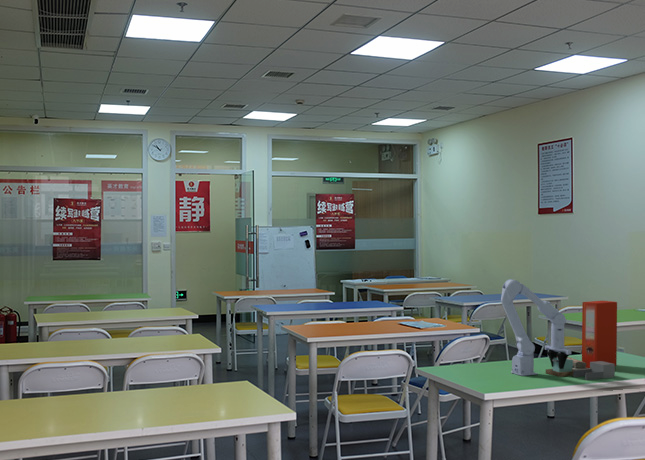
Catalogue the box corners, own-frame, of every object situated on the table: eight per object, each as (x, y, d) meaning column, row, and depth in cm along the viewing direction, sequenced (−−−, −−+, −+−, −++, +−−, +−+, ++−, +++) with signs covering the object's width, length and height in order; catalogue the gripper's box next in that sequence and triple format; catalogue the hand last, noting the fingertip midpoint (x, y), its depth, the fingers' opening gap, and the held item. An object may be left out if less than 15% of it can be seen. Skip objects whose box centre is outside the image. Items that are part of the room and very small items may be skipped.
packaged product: (551, 355, 322) (568, 355, 324) (551, 365, 322) (568, 364, 324) (573, 362, 304) (591, 361, 307) (573, 372, 304) (591, 371, 307)
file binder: (617, 366, 319) (617, 301, 319) (596, 369, 309) (596, 303, 310) (602, 363, 325) (602, 300, 326) (581, 367, 316) (581, 301, 316)
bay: (586, 380, 285) (586, 366, 285) (573, 376, 292) (573, 363, 292) (614, 377, 292) (614, 363, 292) (601, 374, 299) (601, 361, 299)
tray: (559, 376, 292) (559, 372, 292) (545, 373, 299) (545, 369, 299) (580, 374, 297) (580, 370, 297) (566, 371, 305) (566, 367, 305)
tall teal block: (556, 371, 294) (557, 358, 294) (550, 370, 298) (551, 357, 298) (571, 372, 298) (573, 359, 298) (565, 371, 301) (566, 358, 302)
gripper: (576, 340, 292) (576, 369, 292) (552, 335, 305) (552, 364, 305) (564, 340, 289) (564, 371, 289) (541, 336, 302) (541, 365, 302)
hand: (557, 367), depth 297 cm, fingers closed on tall teal block, 4 cm apart
